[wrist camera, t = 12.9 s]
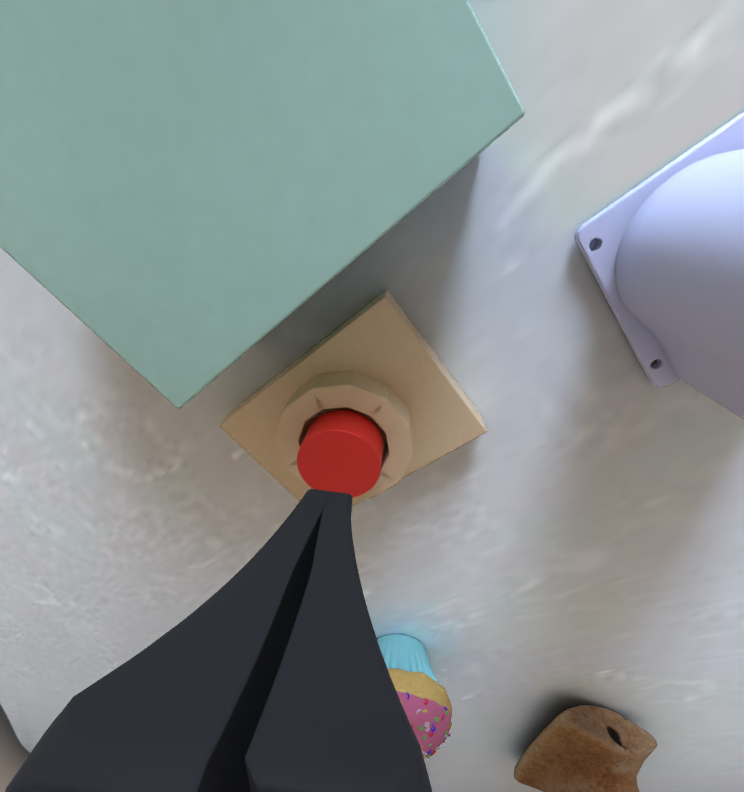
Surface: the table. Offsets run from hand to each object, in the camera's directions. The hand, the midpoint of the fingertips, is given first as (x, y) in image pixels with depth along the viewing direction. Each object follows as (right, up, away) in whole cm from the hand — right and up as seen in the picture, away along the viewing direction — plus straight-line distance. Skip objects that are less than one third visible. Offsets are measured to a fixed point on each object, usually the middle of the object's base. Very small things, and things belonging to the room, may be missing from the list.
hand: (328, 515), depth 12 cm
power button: (0, +1, +8) cm, 8 cm away
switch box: (0, +3, +10) cm, 11 cm away
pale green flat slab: (-4, +12, 0) cm, 13 cm away
